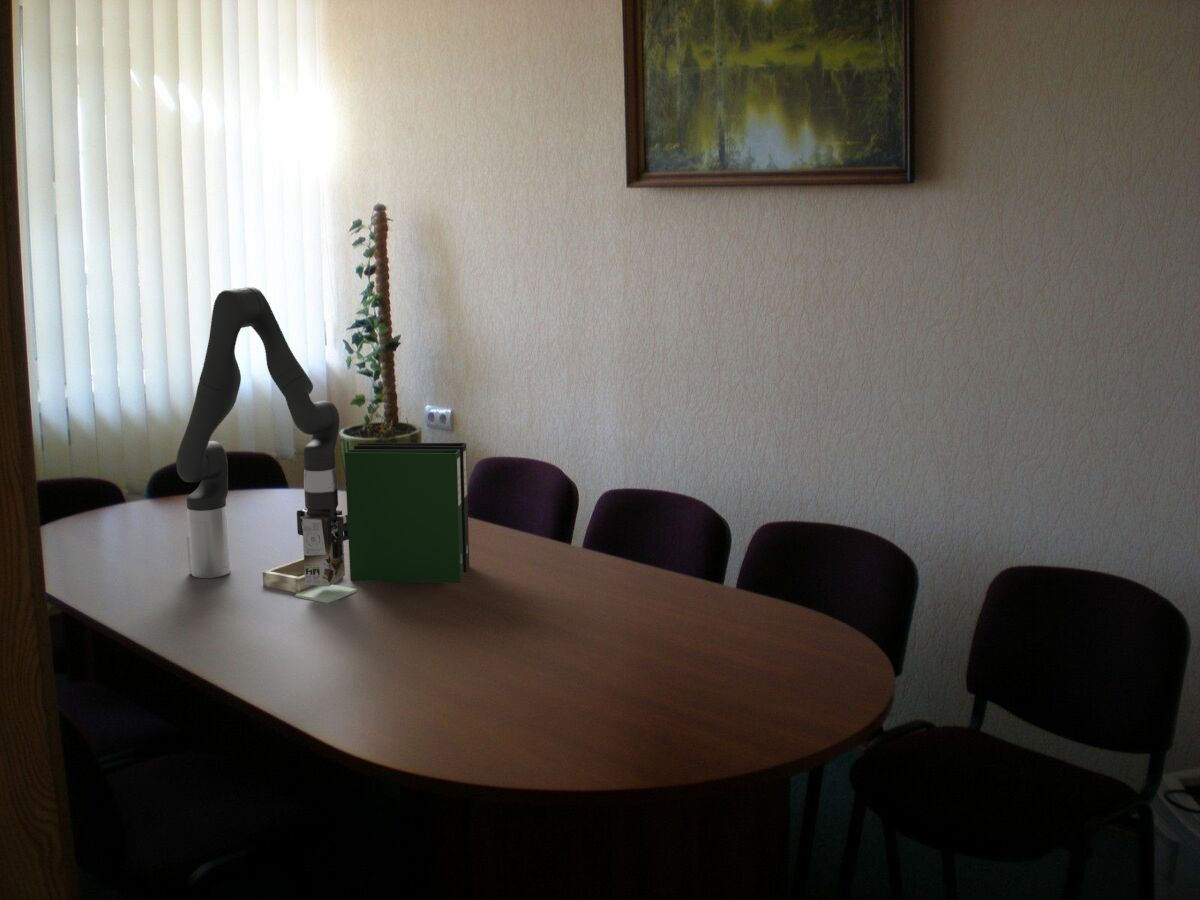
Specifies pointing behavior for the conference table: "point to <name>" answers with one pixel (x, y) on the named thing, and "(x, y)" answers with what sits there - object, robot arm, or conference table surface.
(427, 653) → the conference table surface
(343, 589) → the mat
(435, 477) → the binder
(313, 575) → the coffee box
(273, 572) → the pocket frame
